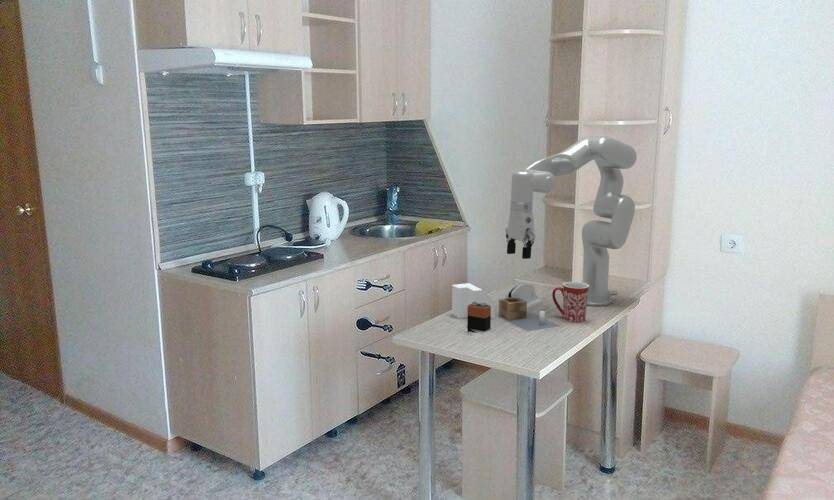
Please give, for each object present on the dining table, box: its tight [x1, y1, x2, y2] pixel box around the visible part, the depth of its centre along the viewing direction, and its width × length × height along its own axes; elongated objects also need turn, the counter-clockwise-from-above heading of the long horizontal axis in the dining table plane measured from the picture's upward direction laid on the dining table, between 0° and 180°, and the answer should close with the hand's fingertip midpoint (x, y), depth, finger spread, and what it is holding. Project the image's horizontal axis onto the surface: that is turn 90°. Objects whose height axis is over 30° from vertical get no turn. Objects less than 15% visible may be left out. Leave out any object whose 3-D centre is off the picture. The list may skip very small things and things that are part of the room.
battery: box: [466, 302, 492, 334], centre depth 225 cm, size 4×7×10 cm, turn 56°
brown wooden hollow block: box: [498, 297, 528, 321], centre depth 238 cm, size 7×7×6 cm
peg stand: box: [495, 310, 560, 332], centre depth 233 cm, size 13×20×6 cm, turn 25°
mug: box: [552, 281, 589, 323], centre depth 235 cm, size 13×9×14 cm
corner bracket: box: [451, 282, 495, 320], centre depth 239 cm, size 11×11×12 cm
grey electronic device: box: [505, 283, 542, 309], centre depth 253 cm, size 17×5×10 cm, turn 142°
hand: (518, 256), depth 236 cm, fingers open, 9 cm apart
